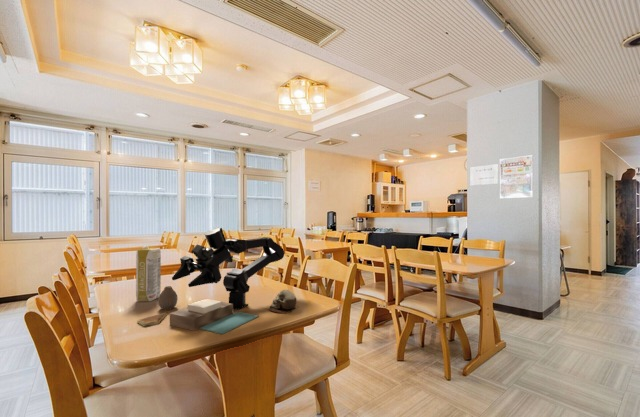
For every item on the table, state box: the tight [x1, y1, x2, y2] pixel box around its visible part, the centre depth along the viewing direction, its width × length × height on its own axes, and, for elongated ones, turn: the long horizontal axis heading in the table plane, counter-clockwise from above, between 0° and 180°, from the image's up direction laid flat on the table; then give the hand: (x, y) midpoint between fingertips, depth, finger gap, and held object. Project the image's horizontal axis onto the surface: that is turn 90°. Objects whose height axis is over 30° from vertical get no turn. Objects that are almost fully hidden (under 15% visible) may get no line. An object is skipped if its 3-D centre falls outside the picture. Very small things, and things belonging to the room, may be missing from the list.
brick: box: [169, 301, 234, 332], centre depth 109 cm, size 18×12×4 cm, turn 153°
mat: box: [199, 311, 259, 335], centre depth 105 cm, size 18×10×1 cm, turn 153°
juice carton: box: [135, 245, 162, 302], centre depth 135 cm, size 9×8×24 cm
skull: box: [268, 289, 299, 314], centre depth 121 cm, size 12×10×10 cm
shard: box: [136, 311, 168, 327], centre depth 108 cm, size 11×8×2 cm
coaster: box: [187, 298, 222, 313], centre depth 108 cm, size 8×8×2 cm
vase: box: [158, 285, 178, 311], centre depth 122 cm, size 7×7×9 cm
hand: (180, 282), depth 103 cm, fingers open, 9 cm apart
